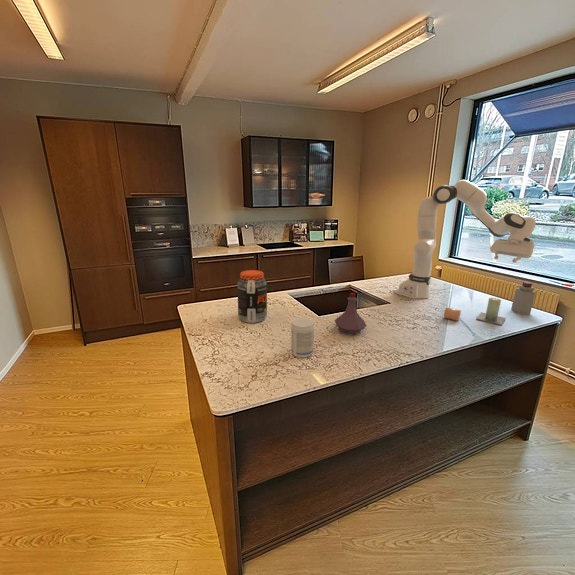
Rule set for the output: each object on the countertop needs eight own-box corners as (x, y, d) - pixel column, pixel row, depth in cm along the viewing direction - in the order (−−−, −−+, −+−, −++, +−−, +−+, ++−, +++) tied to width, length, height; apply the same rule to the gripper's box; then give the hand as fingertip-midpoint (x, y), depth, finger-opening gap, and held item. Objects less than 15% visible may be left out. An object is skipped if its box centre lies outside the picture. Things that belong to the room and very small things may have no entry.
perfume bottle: (530, 313, 188) (537, 284, 182) (518, 313, 188) (525, 284, 182) (522, 309, 194) (529, 281, 188) (511, 309, 194) (517, 280, 189)
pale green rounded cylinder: (484, 318, 178) (488, 299, 175) (486, 315, 182) (490, 297, 179) (495, 320, 175) (500, 301, 172) (497, 317, 179) (501, 299, 176)
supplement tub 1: (262, 325, 168) (262, 277, 160) (234, 322, 171) (232, 275, 163) (270, 313, 183) (270, 269, 175) (244, 311, 185) (242, 268, 178)
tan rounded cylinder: (447, 305, 180) (446, 313, 183) (444, 311, 177) (443, 319, 180) (461, 308, 176) (460, 316, 179) (457, 314, 172) (457, 323, 176)
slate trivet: (476, 319, 178) (476, 318, 178) (480, 313, 187) (481, 312, 187) (501, 325, 171) (501, 324, 171) (505, 319, 179) (505, 317, 179)
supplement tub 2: (317, 352, 141) (318, 321, 137) (304, 361, 134) (305, 329, 130) (300, 345, 147) (300, 315, 143) (286, 353, 140) (286, 322, 136)
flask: (327, 326, 167) (329, 290, 161) (354, 322, 173) (357, 286, 167) (344, 340, 153) (347, 300, 146) (373, 335, 158) (377, 296, 152)
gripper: (495, 235, 188) (483, 253, 186) (536, 240, 172) (524, 260, 170) (497, 242, 192) (486, 260, 190) (537, 247, 176) (525, 267, 174)
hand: (504, 260), depth 180 cm, fingers open, 8 cm apart
